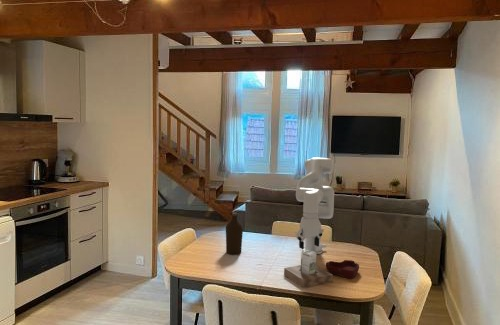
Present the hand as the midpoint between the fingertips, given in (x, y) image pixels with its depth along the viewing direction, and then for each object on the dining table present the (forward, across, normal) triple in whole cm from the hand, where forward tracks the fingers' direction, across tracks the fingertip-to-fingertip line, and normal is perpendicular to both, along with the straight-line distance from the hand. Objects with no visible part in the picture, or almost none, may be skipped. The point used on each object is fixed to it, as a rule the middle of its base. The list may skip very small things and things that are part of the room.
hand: (309, 247), depth 204 cm
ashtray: (+18, -22, +4) cm, 29 cm away
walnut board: (+17, +1, +1) cm, 17 cm away
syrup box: (+17, +1, +1) cm, 17 cm away
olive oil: (+18, +19, -52) cm, 58 cm away
